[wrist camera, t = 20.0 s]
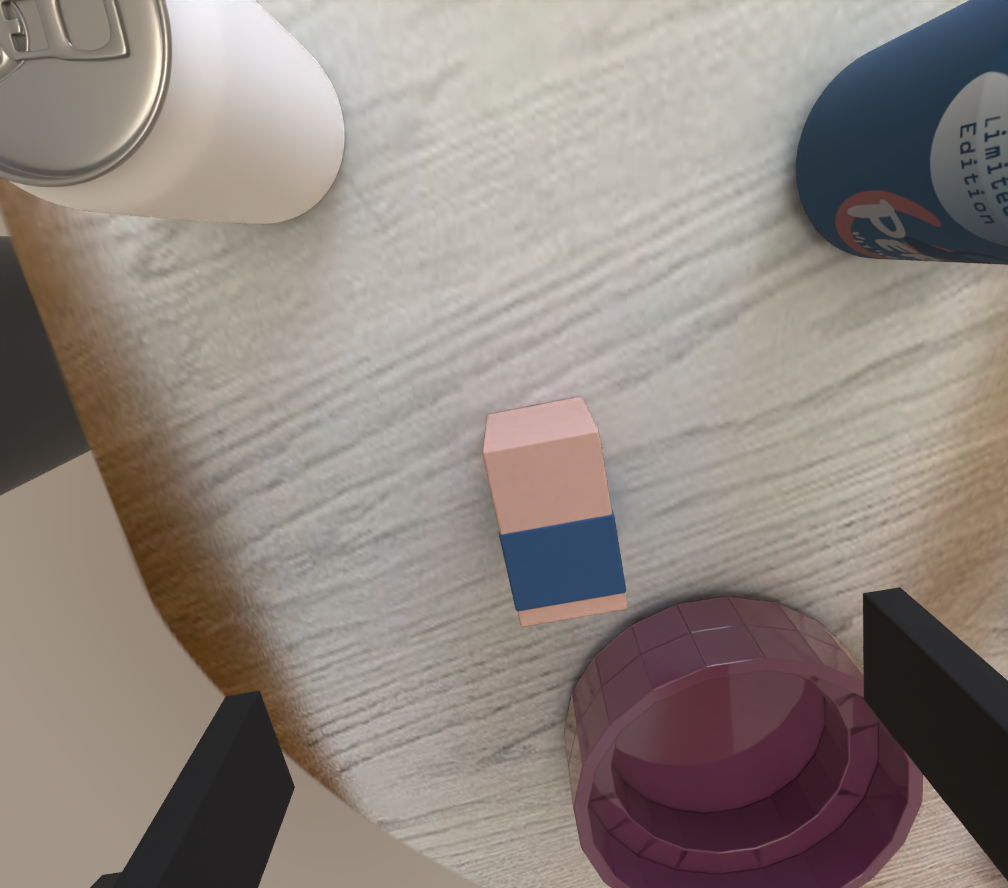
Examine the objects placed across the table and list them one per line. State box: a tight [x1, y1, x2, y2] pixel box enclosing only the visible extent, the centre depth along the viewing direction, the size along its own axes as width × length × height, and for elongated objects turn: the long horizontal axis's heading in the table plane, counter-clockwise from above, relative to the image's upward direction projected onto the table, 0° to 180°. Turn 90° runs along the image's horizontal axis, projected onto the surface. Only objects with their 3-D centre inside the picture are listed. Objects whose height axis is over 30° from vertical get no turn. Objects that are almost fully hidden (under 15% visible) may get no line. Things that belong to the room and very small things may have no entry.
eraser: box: [483, 397, 627, 627], centre depth 25 cm, size 4×7×5 cm, turn 11°
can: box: [0, 0, 345, 224], centre depth 17 cm, size 6×6×12 cm
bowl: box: [564, 597, 923, 888], centre depth 28 cm, size 14×14×5 cm
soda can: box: [796, 0, 1008, 265], centre depth 17 cm, size 7×7×12 cm
